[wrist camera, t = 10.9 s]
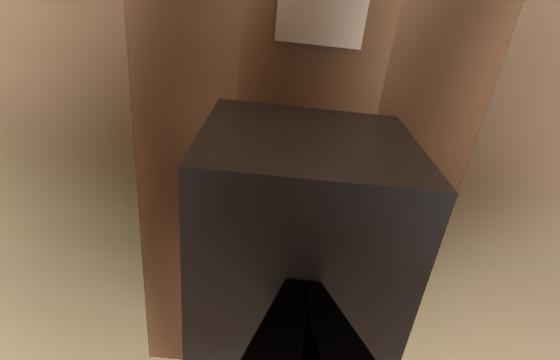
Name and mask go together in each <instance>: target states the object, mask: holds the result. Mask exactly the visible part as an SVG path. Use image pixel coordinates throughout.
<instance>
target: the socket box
mask: <svg viewBox="0 0 560 360" xmlns="http://www.w3.org/2000/svg"><path fill="white" fill-rule="evenodd" d="M523 2H524V0H124V8H125V22H126V36H127V50H128V64H129V78H130V93H131V107H132V121H133V135H134V149H135V163H136V177H137V191H138V205H139V219H140V233H141V247H142V261H143V275H144V289H145V303H146V317H147V331H148V345H149V356H150V357H162V358H173V359H183V350H182V308H181V267H180V225H179V184H178V166H179V164H180V162H181V161H182V159H183V157H184V156H185V154H186V153H187V151H188V149H189V148H190V146H191V144H192V143H193V141H194V139H195V138H196V136H197V134H198V133H199V131H200V129H201V128H202V126H203V124H204V123H205V121H206V119H207V118H208V116H209V114H210V113H211V111H212V109H213V108H214V106H215V104H216V103H217V101H218V99H226V100H236V101H246V102H256V103H266V104H276V105H286V106H296V107H306V108H316V109H326V110H336V111H346V112H356V113H366V114H376V115H386V116H396V117H398V118H399V119H400V121H401V122H402V123H403V124H404V126H405V127H406V128H407V130H408V131H409V132H410V133H411V135H412V136H413V137H414V138H415V140H416V141H417V142H418V143H419V145H420V146H421V147H422V148H423V150H424V151H425V152H426V153H427V155H428V156H429V157H430V159H431V160H432V161H433V162H434V164H435V165H436V166H437V167H438V169H439V170H440V171H441V172H442V174H443V175H444V176H445V177H446V179H447V180H448V181H449V182H450V184H451V185H452V186H453V187H454V189H455V190H456V191H458V188H459V186H460V183H461V180H462V177H463V174H464V171H465V168H466V166H467V163H468V160H469V157H470V154H471V151H472V148H473V145H474V143H475V140H476V137H477V134H478V131H479V128H480V125H481V122H482V120H483V117H484V114H485V111H486V108H487V105H488V102H489V99H490V97H491V94H492V91H493V88H494V85H495V82H496V79H497V77H498V74H499V71H500V68H501V65H502V62H503V59H504V56H505V54H506V51H507V48H508V45H509V42H510V39H511V36H512V33H513V31H514V28H515V25H516V22H517V19H518V16H519V13H520V10H521V8H522V5H523Z"/></svg>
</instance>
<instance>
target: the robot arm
mask: <svg viewBox="0 0 560 360" xmlns="http://www.w3.org/2000/svg"><path fill="white" fill-rule="evenodd" d="M240 360H376V359H375V358H374V356H373V355H372V353H371V352H370V351H369V349H368V348H367V346H366V345H365V344H364V342H363V341H362V339H361V338H360V336H359V335H358V334H357V332H356V331H355V329H354V328H353V326H352V325H351V324H350V322H349V321H348V319H347V318H346V316H345V315H344V314H343V312H342V311H341V309H340V308H339V306H338V305H337V304H336V302H335V301H334V299H333V298H332V297H331V295H330V294H329V292H328V291H327V289H326V288H325V287H324V285H323V284H322V283H321V282H320V281H312V280H305V281H304V282H303V281H302V280H300V279H290V278H287V279H285V280H284V282H283V284H282V285H281V287H280V289H279V291H278V293H277V294H276V296H275V298H274V300H273V301H272V303H271V305H270V307H269V309H268V310H267V312H266V314H265V316H264V318H263V319H262V321H261V323H260V325H259V327H258V328H257V330H256V332H255V334H254V336H253V337H252V339H251V341H250V343H249V345H248V346H247V348H246V350H245V352H244V354H243V355H242V357H241V359H240Z"/></svg>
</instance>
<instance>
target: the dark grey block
mask: <svg viewBox="0 0 560 360" xmlns="http://www.w3.org/2000/svg"><path fill="white" fill-rule="evenodd" d="M178 184H179V225H180V267H181V308H182V350H183V360H240V359H241V357H242V355H243V354H244V352H245V350H246V348H247V346H248V345H249V343H250V341H251V339H252V337H253V336H254V334H255V332H256V330H257V328H258V327H259V325H260V323H261V321H262V319H263V318H264V316H265V314H266V312H267V310H268V309H269V307H270V305H271V303H272V301H273V300H274V298H275V296H276V294H277V293H278V291H279V289H280V287H281V285H282V284H283V282H284V280H285V279H287V278H290V279H300V280H302V281H303V282H304V281H305V280H312V281H320V282H321V283H322V284H323V285H324V287H325V288H326V289H327V291H328V292H329V294H330V295H331V297H332V298H333V299H334V301H335V302H336V304H337V305H338V306H339V308H340V309H341V311H342V312H343V314H344V315H345V316H346V318H347V319H348V321H349V322H350V324H351V325H352V326H353V328H354V329H355V331H356V332H357V334H358V335H359V336H360V338H361V339H362V341H363V342H364V344H365V345H366V346H367V348H368V349H369V351H370V352H371V353H372V355H373V356H374V358H375V359H376V360H401V358H402V355H403V352H404V349H405V346H406V344H407V341H408V338H409V335H410V332H411V329H412V326H413V323H414V320H415V317H416V314H417V311H418V309H419V306H420V303H421V300H422V297H423V294H424V291H425V288H426V285H427V282H428V279H429V276H430V274H431V271H432V268H433V265H434V262H435V259H436V256H437V253H438V250H439V247H440V244H441V241H442V239H443V236H444V233H445V230H446V227H447V224H448V221H449V218H450V215H451V212H452V209H453V207H454V204H455V201H456V198H457V195H458V193H457V191H456V190H455V189H454V187H453V186H452V185H451V184H450V182H449V181H448V180H447V179H446V177H445V176H444V175H443V174H442V172H441V171H440V170H439V169H438V167H437V166H436V165H435V164H434V162H433V161H432V160H431V159H430V157H429V156H428V155H427V153H426V152H425V151H424V150H423V148H422V147H421V146H420V145H419V143H418V142H417V141H416V140H415V138H414V137H413V136H412V135H411V133H410V132H409V131H408V130H407V128H406V127H405V126H404V124H403V123H402V122H401V121H400V119H399V118H398V117H396V116H386V115H376V114H366V113H356V112H346V111H336V110H326V109H316V108H306V107H296V106H286V105H276V104H266V103H256V102H246V101H236V100H226V99H218V101H217V103H216V104H215V106H214V108H213V109H212V111H211V113H210V114H209V116H208V118H207V119H206V121H205V123H204V124H203V126H202V128H201V129H200V131H199V133H198V134H197V136H196V138H195V139H194V141H193V143H192V144H191V146H190V148H189V149H188V151H187V153H186V154H185V156H184V157H183V159H182V161H181V162H180V164H179V166H178Z"/></svg>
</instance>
